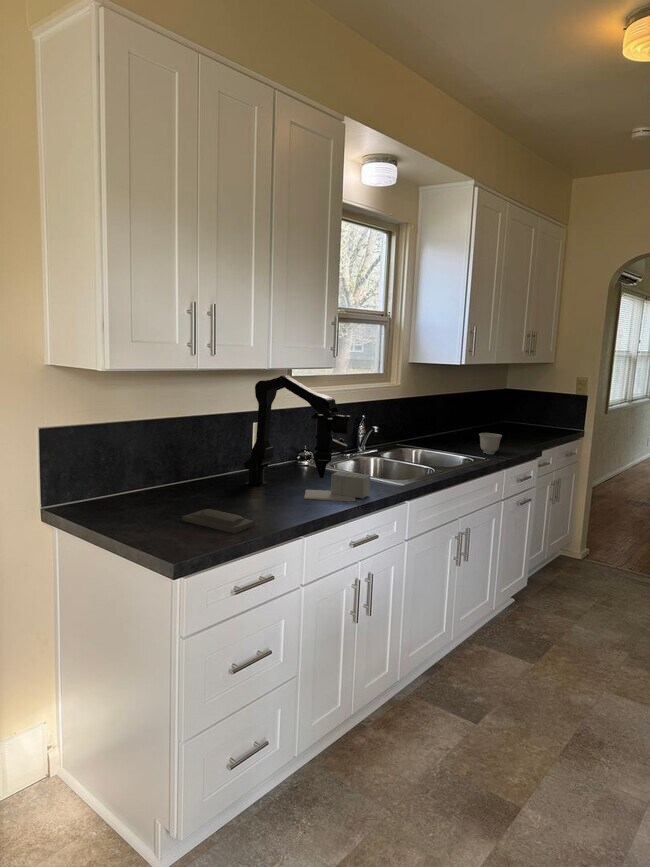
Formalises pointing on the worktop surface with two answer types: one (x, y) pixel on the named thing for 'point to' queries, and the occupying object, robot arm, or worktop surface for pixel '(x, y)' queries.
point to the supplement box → (350, 484)
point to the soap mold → (219, 520)
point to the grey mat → (326, 496)
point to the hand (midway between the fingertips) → (321, 475)
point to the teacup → (489, 442)
